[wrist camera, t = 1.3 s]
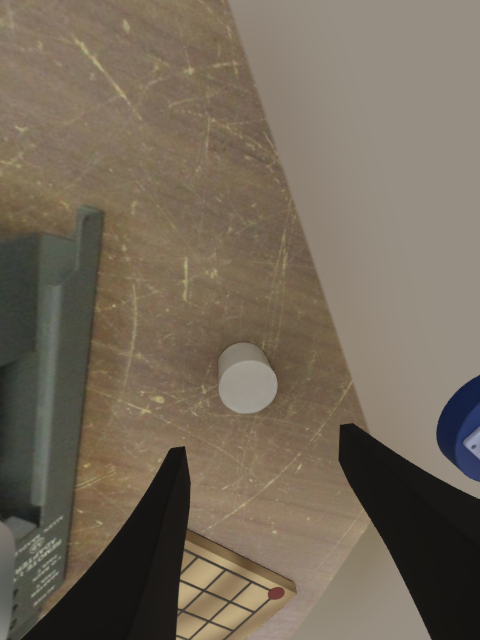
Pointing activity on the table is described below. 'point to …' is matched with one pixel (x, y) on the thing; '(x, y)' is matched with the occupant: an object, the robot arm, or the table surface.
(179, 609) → the board
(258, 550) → the table surface
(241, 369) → the grey short cylinder
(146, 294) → the table surface
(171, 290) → the table surface
